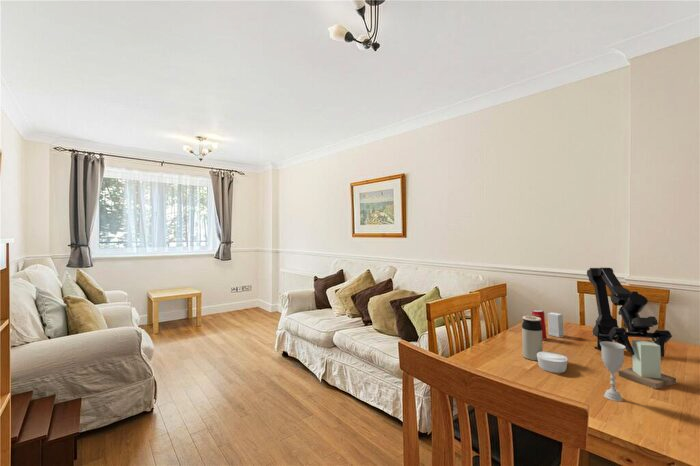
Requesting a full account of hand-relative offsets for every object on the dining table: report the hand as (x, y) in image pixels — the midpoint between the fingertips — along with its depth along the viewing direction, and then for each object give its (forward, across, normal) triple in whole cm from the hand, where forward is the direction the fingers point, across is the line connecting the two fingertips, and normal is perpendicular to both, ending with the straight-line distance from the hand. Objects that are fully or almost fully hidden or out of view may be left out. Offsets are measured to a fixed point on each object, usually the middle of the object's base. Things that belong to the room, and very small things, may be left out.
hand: (648, 355), depth 125 cm
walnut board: (+6, 0, +8) cm, 10 cm away
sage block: (+4, 0, +6) cm, 8 cm away
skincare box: (-31, -16, +44) cm, 56 cm away
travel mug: (-4, -36, +18) cm, 40 cm away
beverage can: (-26, -26, +39) cm, 53 cm away
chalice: (+19, -18, -5) cm, 27 cm away
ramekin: (+4, -31, +10) cm, 33 cm away
